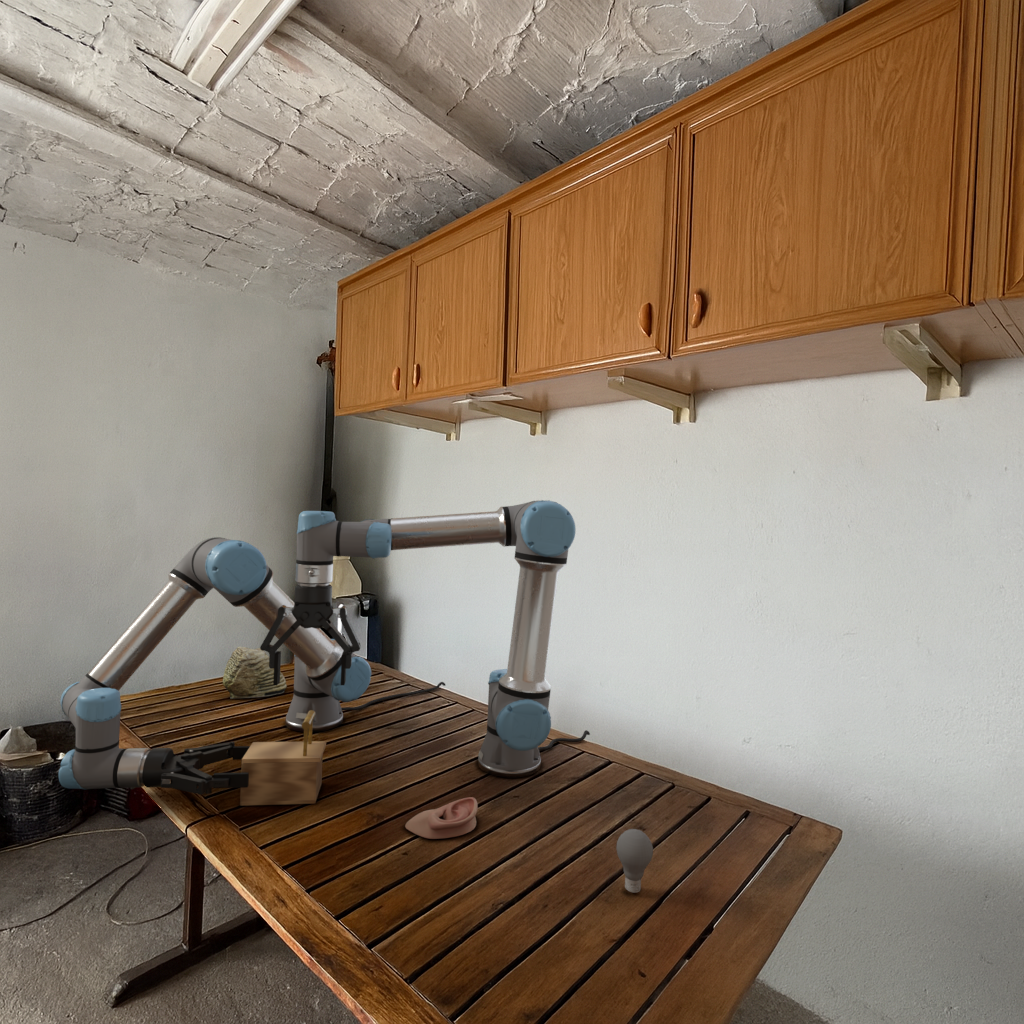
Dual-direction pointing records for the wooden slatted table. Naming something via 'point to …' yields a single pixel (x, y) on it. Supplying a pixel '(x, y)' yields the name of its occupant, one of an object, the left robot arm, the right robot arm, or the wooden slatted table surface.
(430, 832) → the anatomical model
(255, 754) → the lid
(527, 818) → the wooden slatted table surface
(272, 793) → the chest
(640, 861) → the light bulb
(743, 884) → the wooden slatted table surface
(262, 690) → the fossil
